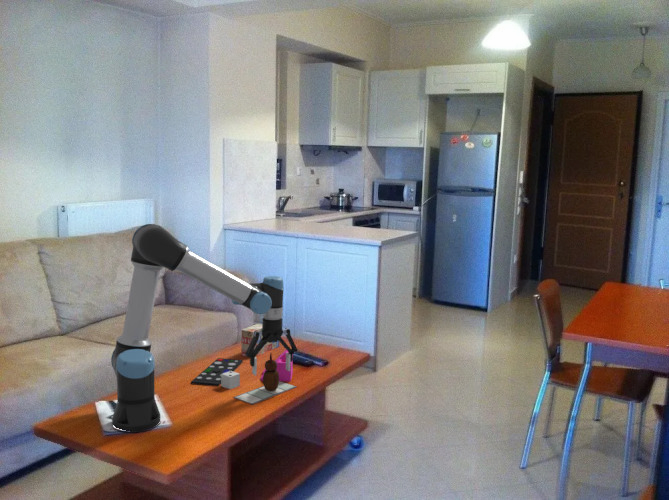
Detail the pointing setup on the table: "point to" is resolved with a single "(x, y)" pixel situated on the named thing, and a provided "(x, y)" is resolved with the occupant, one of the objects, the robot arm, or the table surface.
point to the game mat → (263, 393)
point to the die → (230, 379)
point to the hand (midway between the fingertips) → (271, 372)
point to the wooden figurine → (271, 375)
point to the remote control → (216, 371)
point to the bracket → (282, 368)
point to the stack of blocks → (248, 336)
